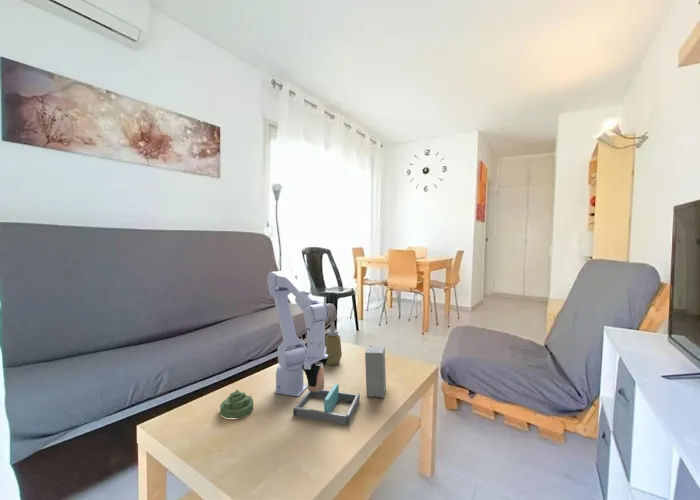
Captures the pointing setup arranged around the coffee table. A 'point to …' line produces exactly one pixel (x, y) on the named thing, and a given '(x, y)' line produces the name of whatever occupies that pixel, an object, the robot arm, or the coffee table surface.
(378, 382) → the skincare box
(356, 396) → the grey tray
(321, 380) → the jar
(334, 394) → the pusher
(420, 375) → the coffee table surface
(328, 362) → the squeeze bottle
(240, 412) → the decorative artifact
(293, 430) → the coffee table surface
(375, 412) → the coffee table surface
